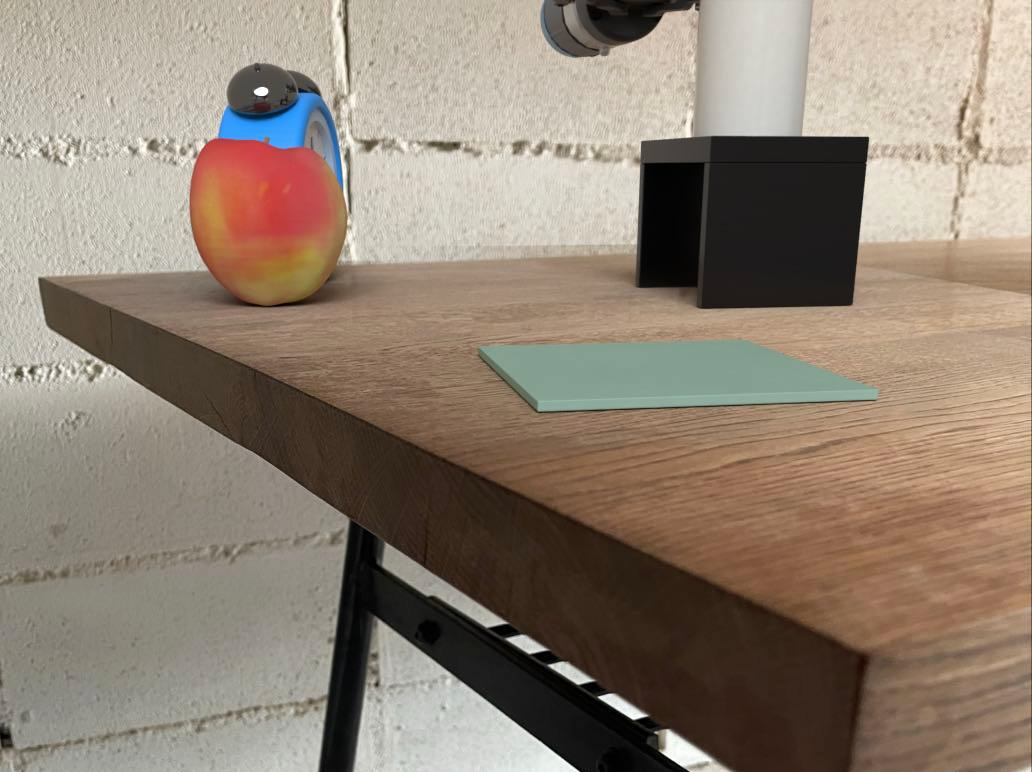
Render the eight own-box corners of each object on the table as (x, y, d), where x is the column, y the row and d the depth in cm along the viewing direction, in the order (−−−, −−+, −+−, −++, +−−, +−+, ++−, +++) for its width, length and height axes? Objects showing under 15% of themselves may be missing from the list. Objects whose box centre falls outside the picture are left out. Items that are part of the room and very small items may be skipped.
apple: (275, 316, 65) (264, 133, 62) (162, 306, 70) (146, 135, 67) (379, 301, 73) (374, 136, 70) (270, 292, 78) (261, 138, 75)
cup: (775, 140, 77) (787, -22, 74) (820, 137, 71) (836, -40, 68) (677, 139, 76) (685, -25, 73) (714, 137, 70) (725, -44, 66)
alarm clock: (304, 291, 78) (292, 57, 73) (218, 290, 79) (201, 58, 74) (348, 274, 90) (340, 73, 86) (273, 273, 91) (261, 74, 86)
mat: (744, 347, 54) (745, 339, 54) (878, 400, 42) (879, 389, 42) (477, 354, 52) (477, 346, 52) (537, 412, 40) (537, 401, 40)
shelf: (764, 283, 84) (774, 141, 81) (853, 305, 71) (869, 136, 68) (634, 285, 82) (640, 140, 79) (701, 308, 69) (711, 135, 66)
